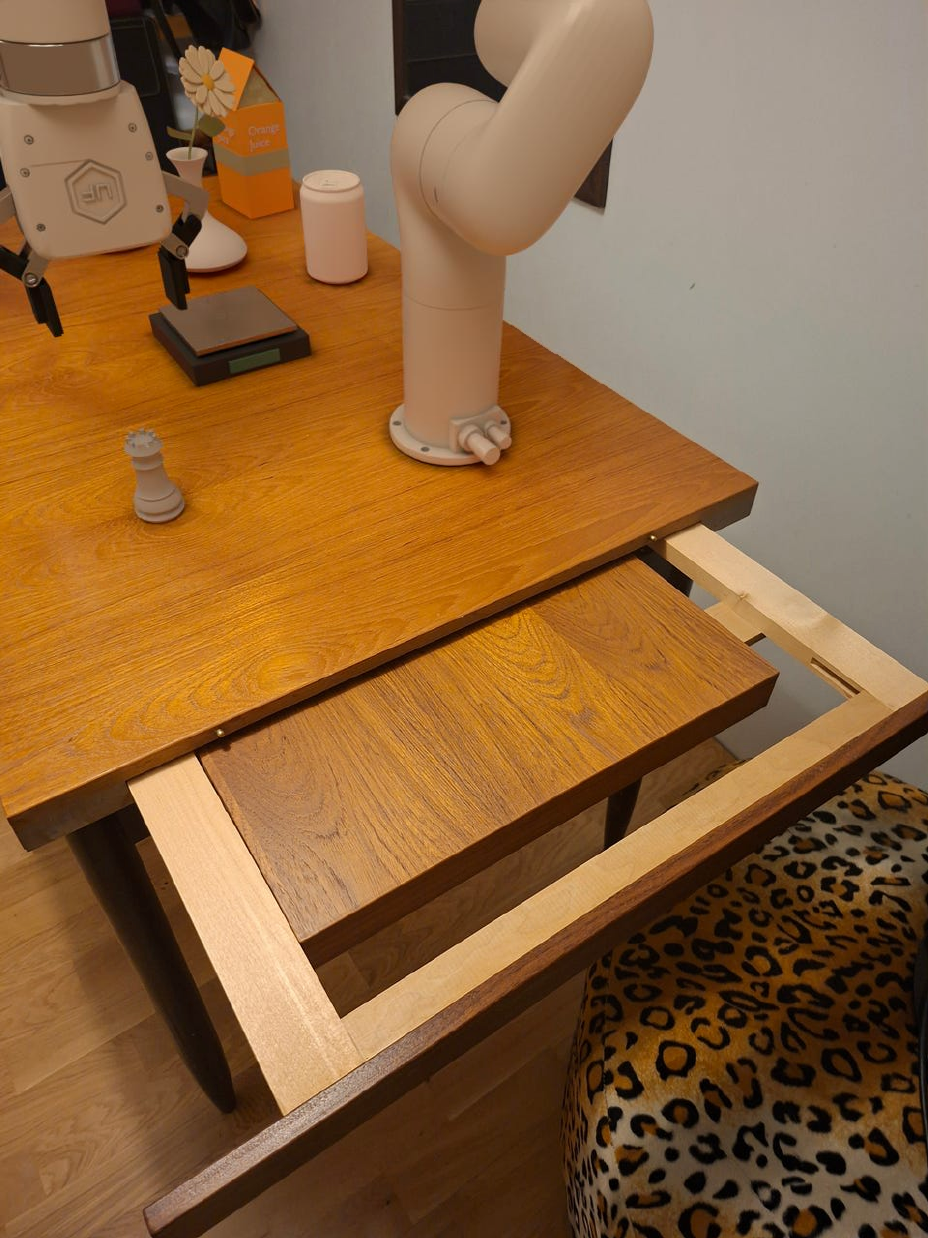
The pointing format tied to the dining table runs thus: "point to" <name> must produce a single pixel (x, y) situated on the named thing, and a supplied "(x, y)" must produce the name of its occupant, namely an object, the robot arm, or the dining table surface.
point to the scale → (230, 353)
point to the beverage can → (334, 226)
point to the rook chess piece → (152, 479)
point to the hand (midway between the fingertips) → (117, 316)
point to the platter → (227, 320)
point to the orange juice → (253, 144)
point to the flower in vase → (209, 96)
